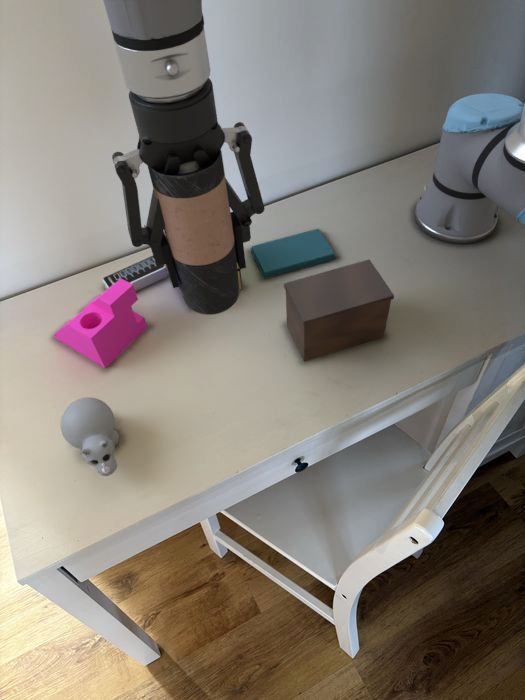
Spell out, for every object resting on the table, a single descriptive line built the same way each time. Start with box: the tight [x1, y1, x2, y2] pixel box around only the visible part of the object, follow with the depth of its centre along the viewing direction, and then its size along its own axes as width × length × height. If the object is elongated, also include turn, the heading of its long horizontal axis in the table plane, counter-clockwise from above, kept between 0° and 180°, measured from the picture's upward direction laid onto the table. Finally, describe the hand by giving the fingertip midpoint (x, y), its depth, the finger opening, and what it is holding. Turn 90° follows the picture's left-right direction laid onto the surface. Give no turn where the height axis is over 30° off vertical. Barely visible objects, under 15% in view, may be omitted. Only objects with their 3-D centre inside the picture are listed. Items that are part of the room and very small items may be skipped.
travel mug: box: [147, 149, 240, 316], centre depth 61 cm, size 8×8×20 cm
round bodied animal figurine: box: [60, 397, 120, 477], centre depth 74 cm, size 7×12×8 cm, turn 26°
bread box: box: [283, 258, 395, 362], centre depth 85 cm, size 14×9×10 cm, turn 108°
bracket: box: [53, 279, 148, 369], centre depth 87 cm, size 12×10×10 cm
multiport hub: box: [101, 254, 169, 292], centre depth 98 cm, size 4×11×2 cm, turn 123°
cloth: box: [250, 228, 336, 279], centre depth 100 cm, size 14×8×1 cm, turn 108°
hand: (207, 270), depth 65 cm, fingers closed on travel mug, 8 cm apart
